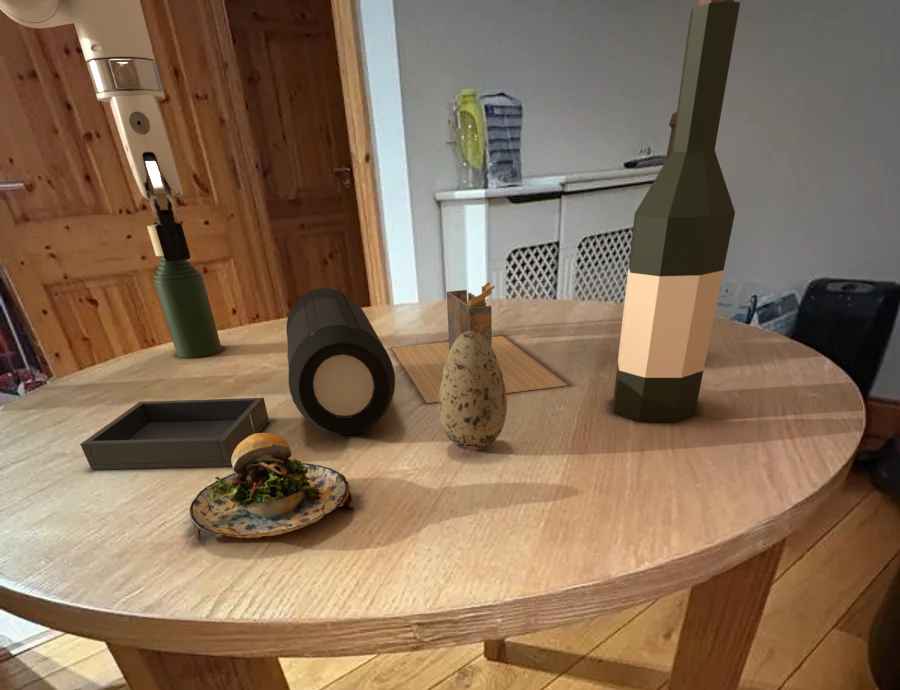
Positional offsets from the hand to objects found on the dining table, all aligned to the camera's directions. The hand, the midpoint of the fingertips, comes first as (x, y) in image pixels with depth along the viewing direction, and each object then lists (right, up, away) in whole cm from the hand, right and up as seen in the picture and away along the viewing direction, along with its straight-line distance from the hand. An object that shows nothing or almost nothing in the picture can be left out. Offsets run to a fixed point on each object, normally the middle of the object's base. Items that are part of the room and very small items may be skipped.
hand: (176, 256), depth 81 cm
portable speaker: (+25, -25, -14) cm, 38 cm away
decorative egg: (+39, -33, -26) cm, 58 cm away
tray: (+11, -31, -22) cm, 40 cm away
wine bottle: (+58, -28, -21) cm, 67 cm away
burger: (+24, -40, -35) cm, 59 cm away
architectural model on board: (+40, -17, -5) cm, 44 cm away
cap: (-1, 0, 0) cm, 1 cm away
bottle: (0, -10, +7) cm, 12 cm away
